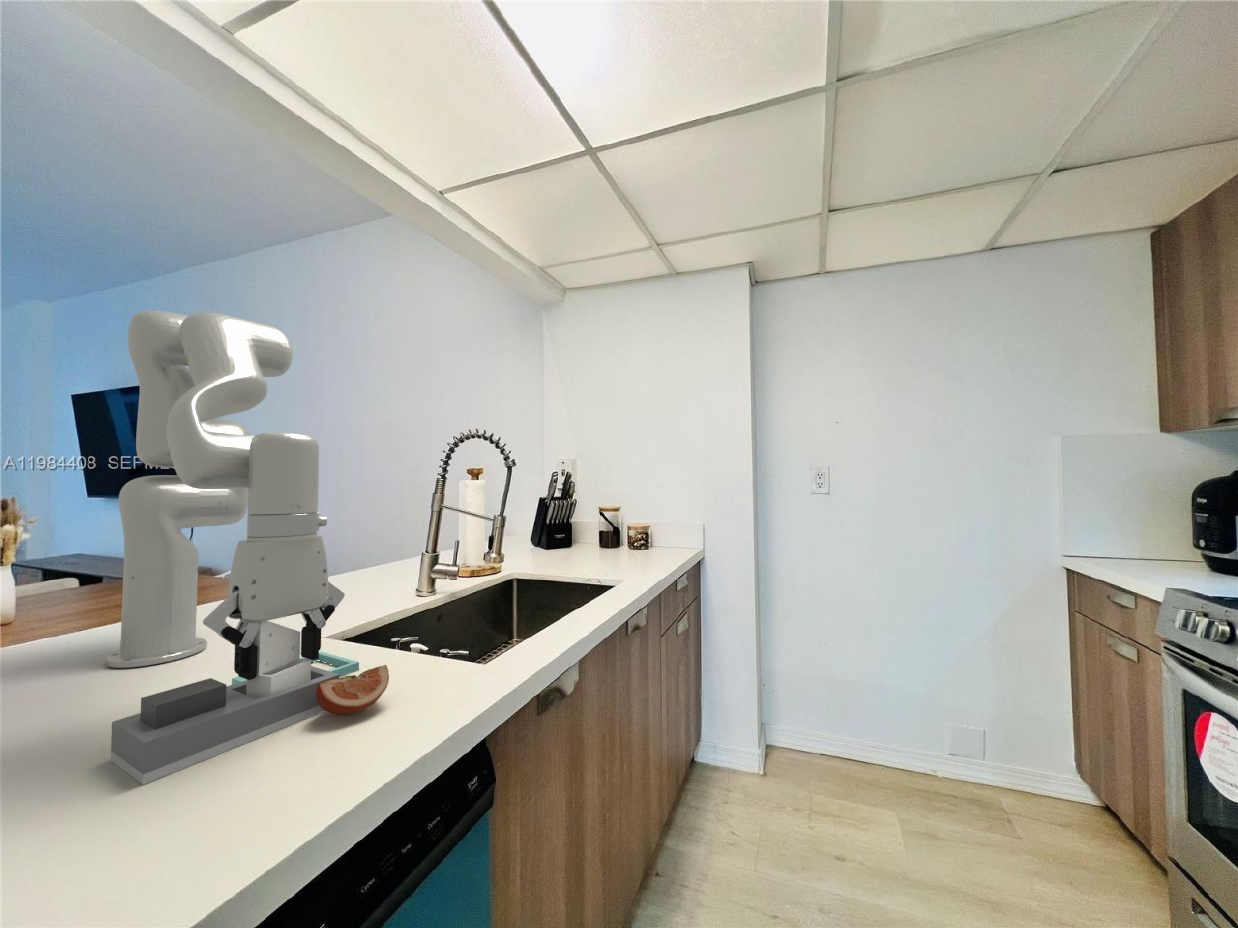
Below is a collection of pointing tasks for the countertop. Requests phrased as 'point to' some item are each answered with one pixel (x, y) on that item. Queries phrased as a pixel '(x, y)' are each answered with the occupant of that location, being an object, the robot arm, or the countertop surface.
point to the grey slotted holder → (205, 723)
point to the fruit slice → (353, 691)
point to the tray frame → (343, 664)
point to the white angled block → (277, 661)
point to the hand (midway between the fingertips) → (279, 665)
